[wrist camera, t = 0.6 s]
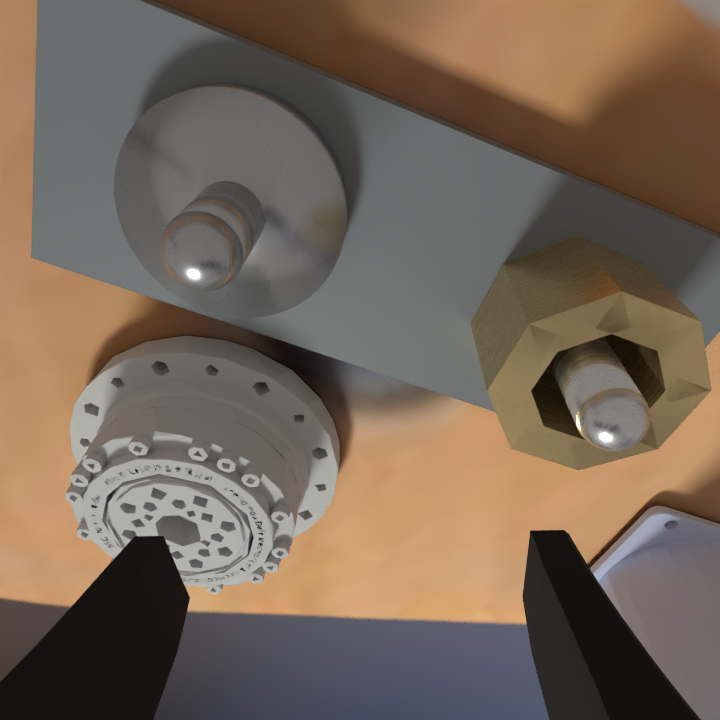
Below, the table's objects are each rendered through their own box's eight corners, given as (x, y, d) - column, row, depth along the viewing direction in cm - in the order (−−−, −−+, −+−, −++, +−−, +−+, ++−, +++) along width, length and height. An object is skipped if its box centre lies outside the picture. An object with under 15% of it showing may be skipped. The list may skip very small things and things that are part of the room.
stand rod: (599, 309, 16) (679, 423, 12) (569, 351, 17) (633, 473, 12) (551, 290, 16) (613, 401, 11) (524, 334, 17) (571, 453, 12)
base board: (757, 249, 16) (778, 262, 15) (606, 433, 20) (616, 452, 19) (61, -39, 13) (38, -41, 12) (49, 245, 17) (30, 257, 16)
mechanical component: (392, 420, 20) (145, 277, 18) (391, 512, 17) (79, 349, 14) (264, 554, 25) (55, 457, 22) (242, 648, 21) (-13, 546, 19)
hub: (380, 136, 14) (376, 181, 10) (311, 327, 17) (289, 414, 13) (145, 42, 13) (48, 55, 9) (118, 262, 16) (38, 336, 12)
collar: (685, 279, 15) (755, 342, 12) (586, 407, 18) (624, 485, 15) (529, 216, 15) (563, 268, 12) (449, 360, 17) (461, 432, 14)
